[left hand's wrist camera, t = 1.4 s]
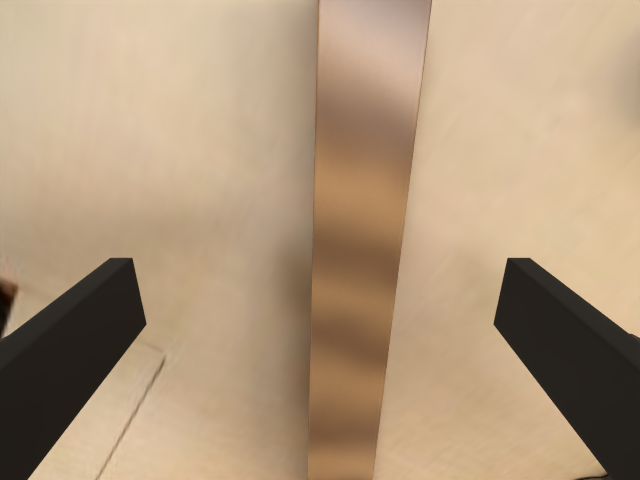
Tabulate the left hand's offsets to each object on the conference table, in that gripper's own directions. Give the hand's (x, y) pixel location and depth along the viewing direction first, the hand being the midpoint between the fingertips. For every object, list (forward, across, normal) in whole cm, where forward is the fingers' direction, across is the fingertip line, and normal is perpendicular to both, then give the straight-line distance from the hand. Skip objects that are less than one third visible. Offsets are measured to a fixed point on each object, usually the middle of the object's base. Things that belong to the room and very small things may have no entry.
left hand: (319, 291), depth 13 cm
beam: (+16, +1, -29) cm, 33 cm away
